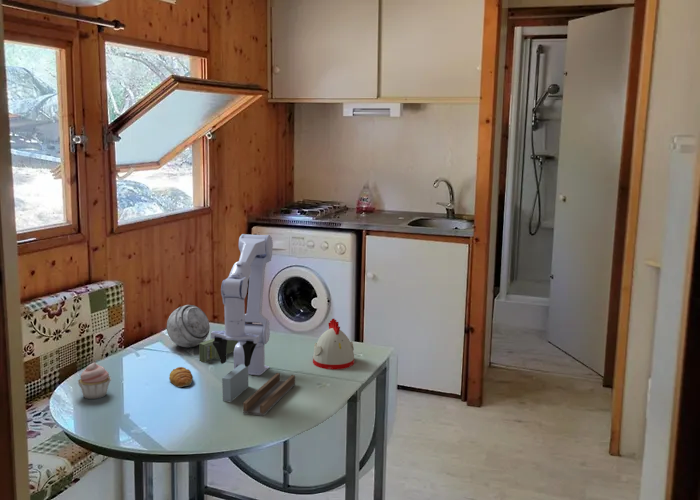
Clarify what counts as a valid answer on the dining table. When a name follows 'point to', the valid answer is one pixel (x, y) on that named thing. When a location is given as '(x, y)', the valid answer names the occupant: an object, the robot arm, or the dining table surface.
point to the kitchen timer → (333, 349)
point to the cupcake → (94, 381)
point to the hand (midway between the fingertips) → (235, 364)
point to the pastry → (181, 377)
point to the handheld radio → (213, 349)
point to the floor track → (268, 395)
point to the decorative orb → (188, 326)
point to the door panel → (235, 383)
